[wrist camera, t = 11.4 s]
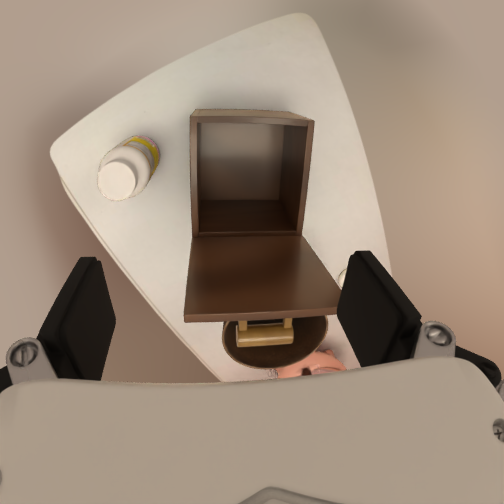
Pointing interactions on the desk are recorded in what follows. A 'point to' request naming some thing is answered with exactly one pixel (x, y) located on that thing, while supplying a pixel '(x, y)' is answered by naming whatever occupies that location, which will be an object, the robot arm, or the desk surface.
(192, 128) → the chest
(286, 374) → the piggy bank
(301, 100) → the desk surface
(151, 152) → the supplement bottle
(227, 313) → the brown wooden box lid
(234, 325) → the flower pot
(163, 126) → the desk surface
